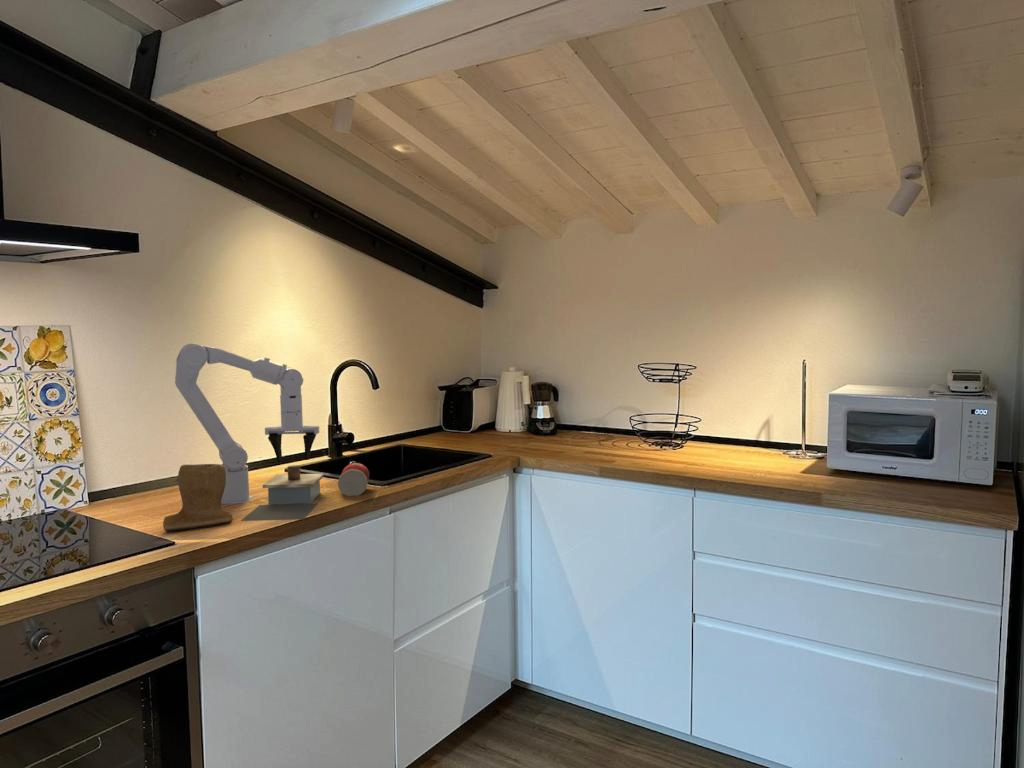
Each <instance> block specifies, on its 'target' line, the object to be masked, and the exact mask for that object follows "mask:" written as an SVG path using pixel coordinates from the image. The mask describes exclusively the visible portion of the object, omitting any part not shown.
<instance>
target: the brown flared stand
mask: <svg viewBox="0 0 1024 768" xmlns="http://www.w3.org/2000/svg"><path fill="white" fill-rule="evenodd" d="M177 485H178V490H179V494H180V498H181V502H182V508H181V509H180V510H179V511H178V512H177V513H174V514H170V515H167V516H165V517H164V518H163V522H162V526H163V531H164V532H173V531H175V532H176V531H182V530H190V529H197V528H205V527H212V526H216V525H220V524H225V523H228V522H231V521H232V520H233V515H232V514H231V512H230V513H229V512H227V511H224V509H222V504H221V500H222V496H223V493H224V489H225V485H226V471H225V467H224V466H223V465H222V464H220V463H202V464H201V463H200V464H182V465H180V467H179V470H178V474H177Z"/></svg>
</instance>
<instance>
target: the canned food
mask: <svg viewBox="0 0 1024 768" xmlns="http://www.w3.org/2000/svg"><path fill="white" fill-rule="evenodd" d="M369 479H370V471H369V469H368V468H367V466H365V465H364V464H362V463H360V462H352V463H349V464H348V465H346V466H345V467H344V468H343V470H342V472H341V474H340V475H339V478H338V482H337V486H338V490H339V492H340V493H342V494H343V495H344V496H346V497H351V496H353V497H354V496H360V495H362V494H363V493H364V492H365V491H366V489H367V487H368V484H369Z"/></svg>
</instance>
